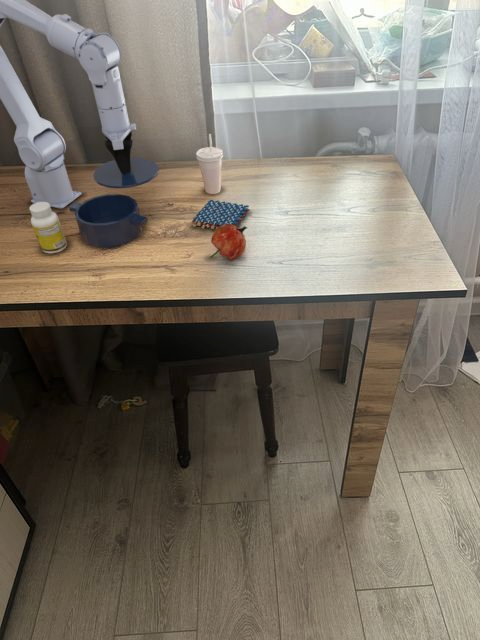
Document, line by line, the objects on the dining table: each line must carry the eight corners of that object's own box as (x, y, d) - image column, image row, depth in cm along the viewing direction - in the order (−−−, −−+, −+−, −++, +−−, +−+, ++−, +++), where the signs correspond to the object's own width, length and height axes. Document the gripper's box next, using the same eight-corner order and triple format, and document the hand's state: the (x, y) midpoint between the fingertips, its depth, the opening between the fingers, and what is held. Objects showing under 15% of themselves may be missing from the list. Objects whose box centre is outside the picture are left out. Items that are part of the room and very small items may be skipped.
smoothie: (222, 197, 124) (217, 140, 114) (197, 195, 125) (190, 138, 115) (228, 185, 128) (224, 129, 118) (204, 183, 129) (198, 127, 119)
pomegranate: (219, 277, 104) (257, 250, 100) (195, 252, 100) (232, 222, 96) (222, 260, 110) (258, 234, 106) (199, 235, 106) (235, 207, 102)
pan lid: (136, 195, 107) (132, 175, 104) (81, 184, 111) (75, 165, 108) (171, 167, 116) (168, 148, 113) (118, 158, 120) (114, 139, 117)
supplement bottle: (44, 241, 111) (29, 200, 104) (69, 239, 111) (55, 198, 105) (39, 255, 107) (22, 213, 100) (65, 253, 108) (50, 211, 101)
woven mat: (209, 205, 121) (208, 197, 120) (250, 211, 118) (250, 203, 117) (190, 227, 114) (189, 219, 113) (234, 234, 111) (233, 226, 110)
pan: (131, 255, 107) (125, 232, 103) (59, 238, 112) (51, 216, 108) (163, 223, 115) (159, 201, 112) (95, 209, 121) (89, 188, 117)
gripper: (132, 115, 98) (145, 181, 108) (130, 91, 109) (142, 153, 118) (95, 119, 98) (111, 185, 107) (96, 94, 108) (111, 157, 117)
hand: (125, 169), depth 113 cm, fingers closed on pan lid, 2 cm apart
